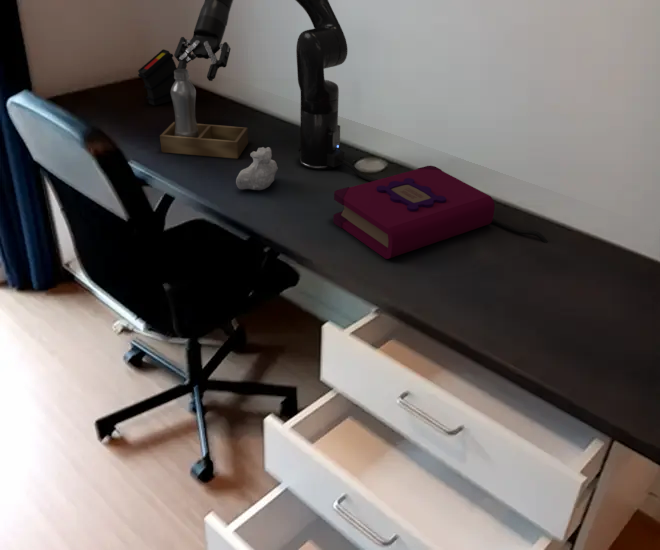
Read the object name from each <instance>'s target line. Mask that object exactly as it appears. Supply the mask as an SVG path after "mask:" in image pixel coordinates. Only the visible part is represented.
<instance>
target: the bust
mask: <svg viewBox="0 0 660 550" xmlns="http://www.w3.org/2000/svg"><path fill="white" fill-rule="evenodd" d="M249 154H250V155H249V156H250V158H251V159H252V162H251V164H250V165H249V166H248V167H246V168H243V169H241V170H240V171H239V173H238V175H237V176H236V179H235V184H236V187H237V188H238V190H253V191H262V190H266V189H267V188H269V187H270V186H271V185H272V183H273V182H274V181H275V177H276V173H277V171H278V170H279V167H278V165H277V162H276V161H275V160H274V159H272V157H273V155H272V154H273V153H272V148H271V147H269V146H267V147H264V146H262V147H258V148H257V150H256V151H254V150H253V151H252V152H250V153H249Z"/></svg>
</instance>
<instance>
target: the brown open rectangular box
mask: <svg viewBox="0 0 660 550" xmlns="http://www.w3.org/2000/svg"><path fill="white" fill-rule="evenodd" d="M197 128H198V131H199V137H198V138H194V137H182V136H174V135H175V121H172V123H171V124H170V125H169V126H168V127H166V129H165V130H164V131H163V132H162V133H161V134H160V135H159V140H160V141H159V142H160V151H161V153H166V154H168V153H170V154H178V155H189V156H190V155H191V156H201V157H203V156H204V157H212V158H225V159H237V160H238V159H239V158H240V156H241V155H242V153H243V152H244V150H245V149H246V147H247V146H248V145H249V132H248V131H249V130H248V129H249V128H248V127H245V126H233V125H232V126H231V125H220V124H207V123H205V124H204V123H197Z"/></svg>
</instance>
